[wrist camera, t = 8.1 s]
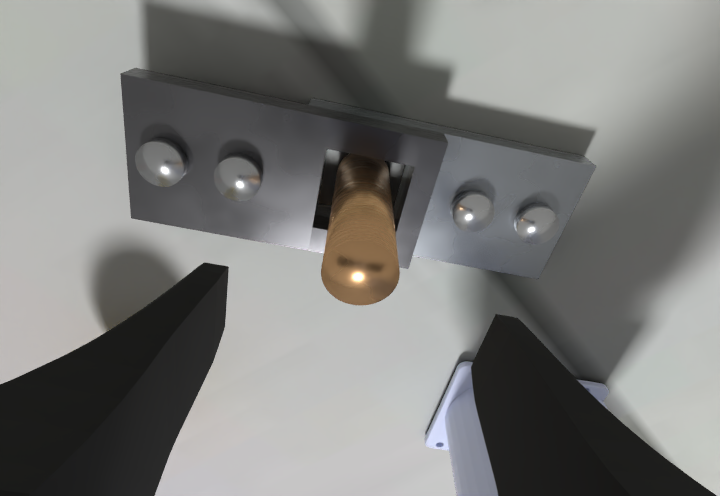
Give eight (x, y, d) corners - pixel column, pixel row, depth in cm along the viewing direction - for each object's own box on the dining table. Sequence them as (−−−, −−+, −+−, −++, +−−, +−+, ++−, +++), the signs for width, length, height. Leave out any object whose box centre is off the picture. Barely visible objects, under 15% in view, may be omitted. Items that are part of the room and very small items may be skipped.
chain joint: (584, 156, 20) (616, 182, 17) (530, 265, 23) (550, 302, 20) (148, 62, 18) (112, 76, 15) (154, 194, 21) (124, 224, 18)
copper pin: (395, 156, 20) (409, 250, 13) (381, 203, 21) (387, 311, 14) (342, 144, 20) (329, 233, 13) (332, 192, 21) (314, 297, 14)
